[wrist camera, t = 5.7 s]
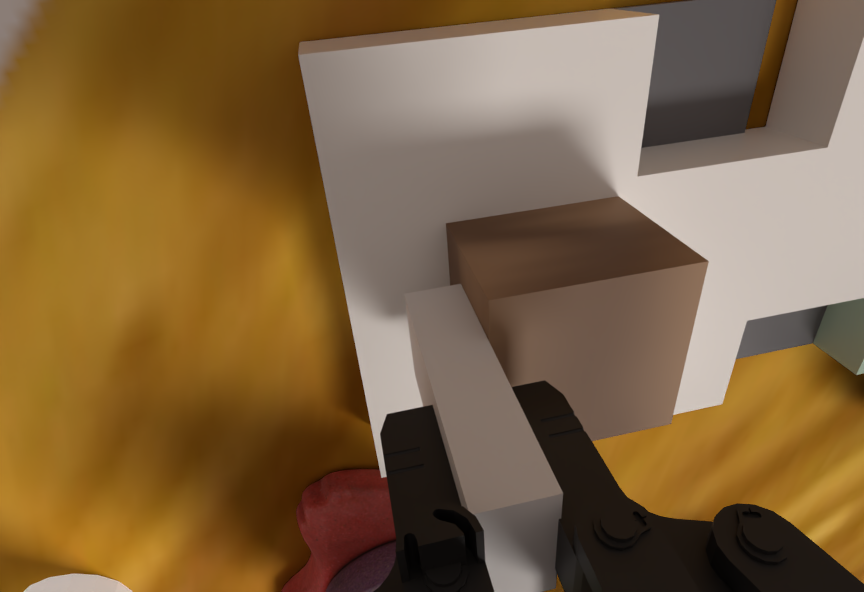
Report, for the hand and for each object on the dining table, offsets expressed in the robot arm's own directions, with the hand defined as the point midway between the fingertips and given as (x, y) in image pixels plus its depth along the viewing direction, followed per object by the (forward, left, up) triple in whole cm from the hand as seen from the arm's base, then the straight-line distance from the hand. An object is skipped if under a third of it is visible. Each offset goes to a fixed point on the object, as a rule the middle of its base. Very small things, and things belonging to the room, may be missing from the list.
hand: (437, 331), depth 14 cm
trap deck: (+11, 0, -4) cm, 12 cm away
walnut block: (+3, 0, -2) cm, 4 cm away
